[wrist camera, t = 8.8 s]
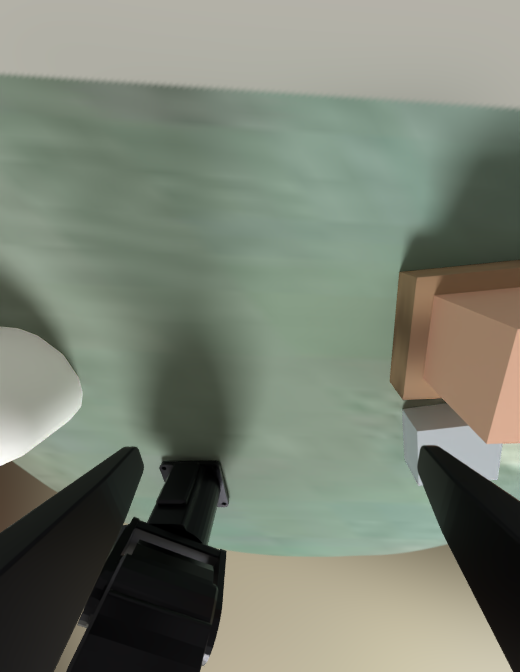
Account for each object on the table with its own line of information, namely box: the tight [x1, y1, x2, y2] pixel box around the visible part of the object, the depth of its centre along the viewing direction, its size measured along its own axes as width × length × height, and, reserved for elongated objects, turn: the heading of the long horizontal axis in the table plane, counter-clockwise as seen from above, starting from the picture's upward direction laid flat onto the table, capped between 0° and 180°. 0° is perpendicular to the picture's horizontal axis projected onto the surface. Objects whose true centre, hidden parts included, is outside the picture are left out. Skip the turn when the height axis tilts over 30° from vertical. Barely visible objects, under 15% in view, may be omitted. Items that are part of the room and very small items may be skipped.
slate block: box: [402, 403, 502, 486], centre depth 21 cm, size 6×6×3 cm
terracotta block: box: [423, 287, 520, 444], centre depth 13 cm, size 6×6×6 cm
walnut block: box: [390, 260, 520, 400], centre depth 18 cm, size 9×9×3 cm
